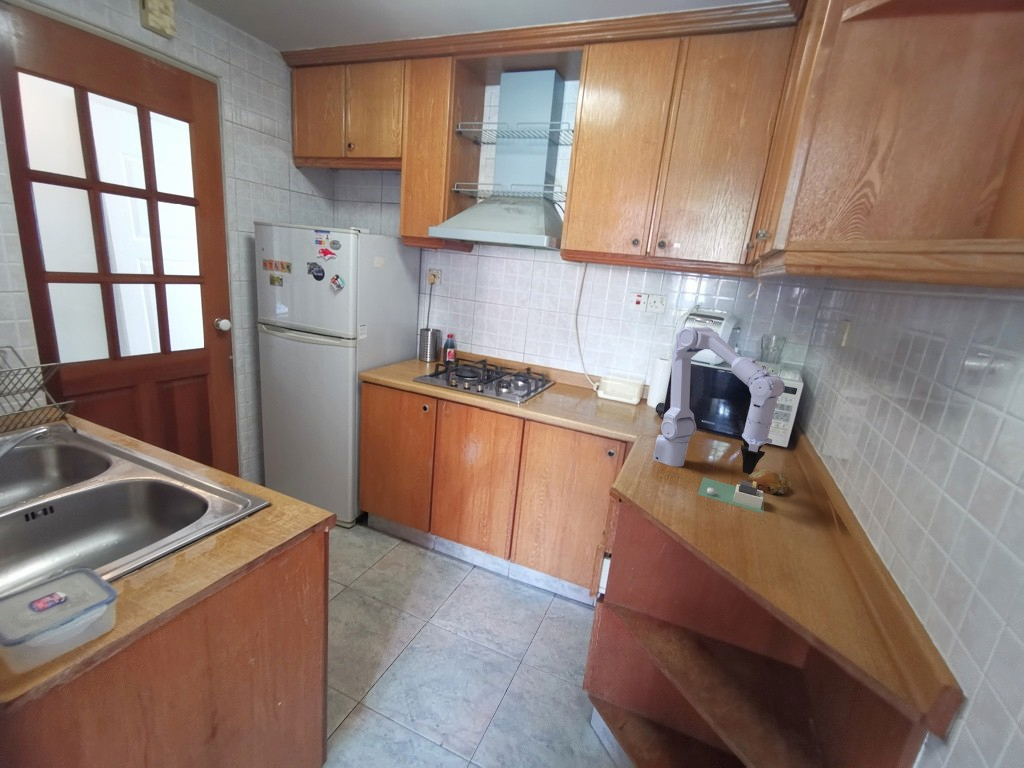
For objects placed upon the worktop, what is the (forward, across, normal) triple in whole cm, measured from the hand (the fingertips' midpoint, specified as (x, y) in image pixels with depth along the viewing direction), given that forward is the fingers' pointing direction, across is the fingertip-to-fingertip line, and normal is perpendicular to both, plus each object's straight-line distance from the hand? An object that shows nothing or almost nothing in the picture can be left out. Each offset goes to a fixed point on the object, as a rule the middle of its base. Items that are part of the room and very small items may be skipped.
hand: (747, 468), depth 121 cm
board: (+9, 0, +2) cm, 10 cm away
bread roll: (+10, +12, -6) cm, 17 cm away
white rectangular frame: (+8, -2, -2) cm, 9 cm away
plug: (+8, -2, -1) cm, 9 cm away
